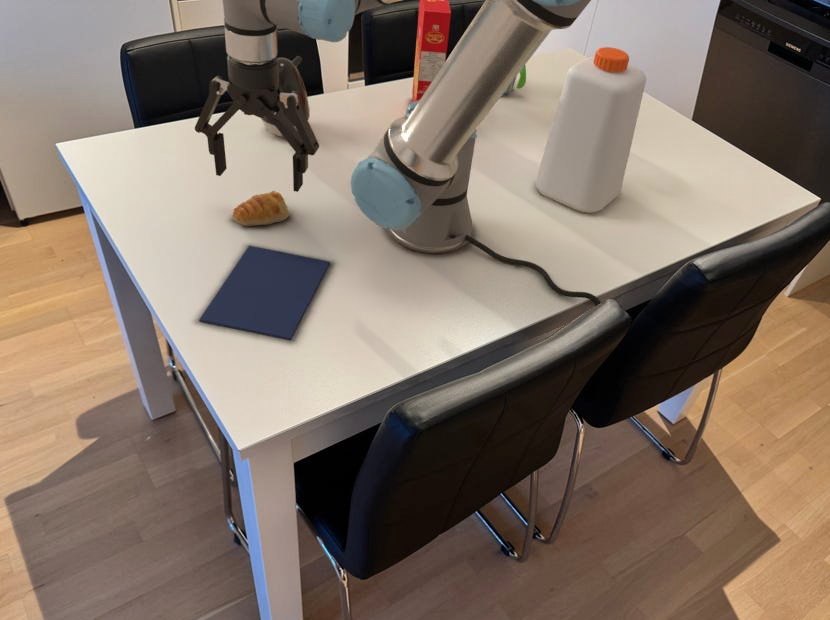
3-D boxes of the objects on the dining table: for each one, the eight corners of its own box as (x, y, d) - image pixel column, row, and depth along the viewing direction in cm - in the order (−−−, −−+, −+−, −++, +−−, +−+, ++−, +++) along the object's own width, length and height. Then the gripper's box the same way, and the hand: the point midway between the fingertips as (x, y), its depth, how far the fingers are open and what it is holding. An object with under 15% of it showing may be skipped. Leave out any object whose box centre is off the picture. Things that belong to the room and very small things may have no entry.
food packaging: (411, 100, 172) (421, -14, 155) (434, 102, 173) (445, -12, 156) (413, 129, 162) (424, 10, 145) (437, 131, 162) (450, 13, 145)
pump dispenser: (320, 131, 157) (320, 59, 146) (287, 148, 150) (284, 74, 139) (283, 115, 160) (281, 43, 150) (249, 130, 153) (244, 57, 143)
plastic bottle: (562, 164, 158) (595, 30, 139) (625, 191, 152) (668, 55, 133) (526, 190, 148) (555, 50, 129) (592, 220, 143) (633, 78, 124)
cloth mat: (329, 263, 124) (329, 261, 123) (290, 340, 109) (290, 338, 109) (249, 247, 124) (249, 245, 124) (199, 321, 110) (199, 319, 109)
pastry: (244, 234, 127) (242, 214, 124) (225, 215, 130) (223, 196, 128) (292, 219, 132) (291, 200, 129) (273, 201, 135) (272, 183, 133)
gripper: (339, 62, 114) (336, 183, 128) (183, 31, 115) (198, 155, 130) (325, 80, 108) (323, 205, 123) (162, 48, 110) (180, 175, 124)
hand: (259, 179), depth 126 cm, fingers open, 13 cm apart
